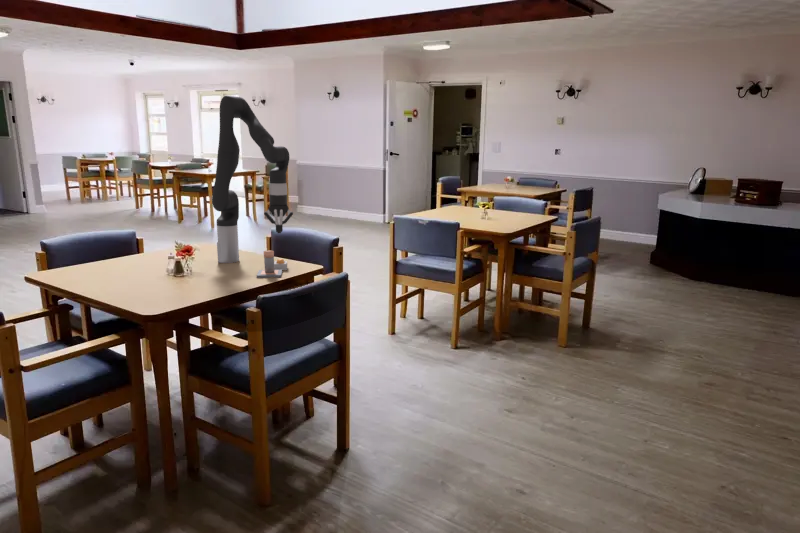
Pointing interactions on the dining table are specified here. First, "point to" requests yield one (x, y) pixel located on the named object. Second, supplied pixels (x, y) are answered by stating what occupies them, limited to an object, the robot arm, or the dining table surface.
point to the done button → (280, 261)
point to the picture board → (269, 274)
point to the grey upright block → (269, 261)
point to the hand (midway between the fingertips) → (279, 233)
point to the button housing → (280, 266)
